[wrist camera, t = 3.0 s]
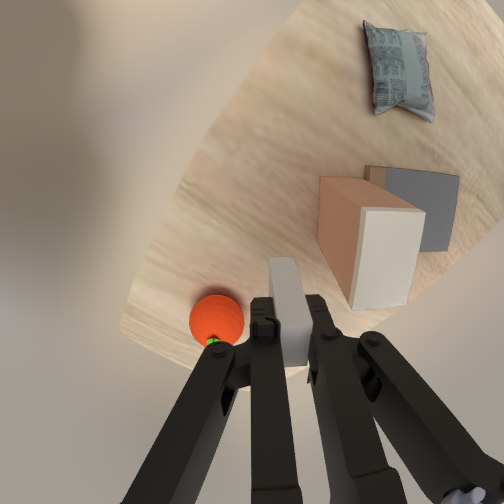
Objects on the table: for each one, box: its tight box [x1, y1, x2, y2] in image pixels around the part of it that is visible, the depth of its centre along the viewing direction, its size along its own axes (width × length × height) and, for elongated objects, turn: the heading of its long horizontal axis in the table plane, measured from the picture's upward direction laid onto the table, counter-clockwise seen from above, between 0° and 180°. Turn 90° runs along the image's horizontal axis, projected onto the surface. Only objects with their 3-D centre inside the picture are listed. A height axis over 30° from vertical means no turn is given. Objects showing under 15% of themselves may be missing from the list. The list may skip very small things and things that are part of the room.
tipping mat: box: [365, 166, 460, 252], centre depth 31 cm, size 15×11×2 cm
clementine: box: [189, 295, 244, 347], centre depth 34 cm, size 8×7×7 cm
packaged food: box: [363, 20, 435, 123], centre depth 22 cm, size 9×12×5 cm
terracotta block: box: [317, 176, 426, 311], centre depth 25 cm, size 5×8×14 cm, turn 2°
